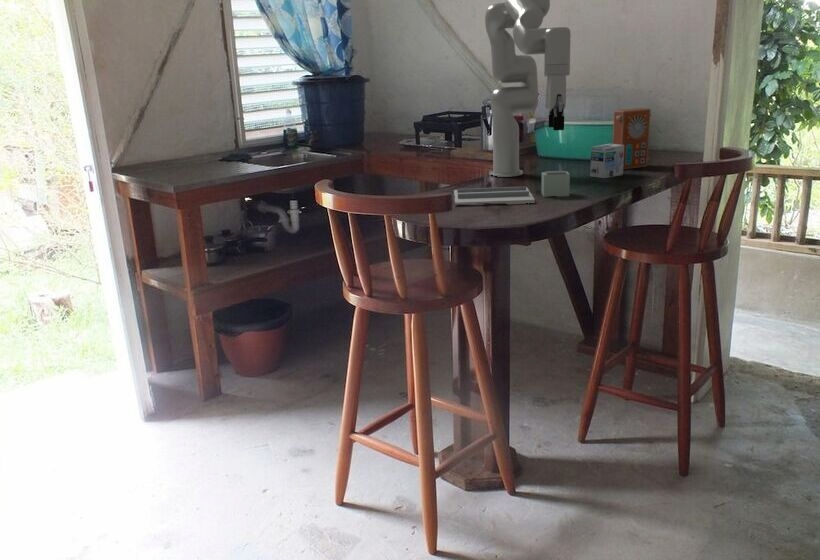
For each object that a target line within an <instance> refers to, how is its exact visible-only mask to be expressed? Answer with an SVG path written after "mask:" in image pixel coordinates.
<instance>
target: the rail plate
mask: <svg viewBox="0 0 820 560" xmlns="http://www.w3.org/2000/svg"><path fill="white" fill-rule="evenodd" d="M453 195H454V196H455V198H454V205H455V204H468V203H469V204H476V203H506V204H508V205H530V204H529V203H536V202H535V201H536V199H535V198H534V196H533V195H532V193H531V192H530V190H529V188H528V187H527V186H524V185H523V186H505V187H503V186H500V187H477V188H476V187H475V188H473V187H472V188H457V189H453ZM526 203H528V204H526Z"/></svg>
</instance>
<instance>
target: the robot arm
mask: <svg viewBox="0 0 820 560" xmlns="http://www.w3.org/2000/svg"><path fill="white" fill-rule="evenodd" d="M550 1H551V0H505V2H497V3H494V4H491V5H489V7H487V9H486V11H485V16H484V23H485V24H484V25H485V26H484V27H485V29H486V30H485V31H486V34H487V37H488V39H489V43H490V50H491V51H490V52H491V53H490V54H491V68H492V79H493V80H494V82H495V83H498V84H517V83H518V84H519V83H520V85H521V86H505V87H498V88H496V89H493V91H492V92H491V94H490V97H489V105H490V109H491V111H490V112H491V117H492V144H493V145H492V153H493V154H492V157H493V158H492V162H493V163H492V165H493V166H492V168H493V170H492V169H491V170H489V173H488V175H489V176H491V175H493V176H492V177H495V176H497V177H498V178H513V177H514V178H515V177H519V176H522V175H524V171H523V170H522V169H520V126H519V123H518V121H517V120H516V119H515V117H514V116H513V115H517V114H528V113H533V112H534V111H536V110H537V108H538V105H539V86H538V83H539V82H538V67H537V62H536V59H534V58H533V56H532V55H544V64H543V65H544V68H543V69H544V71H543V72H544V77H547V78H546V87H545V89H546V90H545V109H547V110H548V127H549V128H552V129H553V131H564V130H565V109H566V106H567V76H570V75H571V73H570V71H571V38H572V37H571V36H572V35H571V29H570V28H569V27H565V26H559V27H558V26H557V27H548V28H547V27H542V28H541V26H542V24H543V21H544V18H545V17H546V16H547V15H548V12H549V10H550V7H551V2H550ZM506 29H512V35H511V34H510V33H509V31H508V30H506ZM512 36H513V37H512ZM516 47H517V48H518V50H519V51H520V52H521V53H523V54H521V55H517V54H516Z"/></svg>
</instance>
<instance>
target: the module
mask: <svg viewBox="0 0 820 560" xmlns="http://www.w3.org/2000/svg"><path fill="white" fill-rule="evenodd" d="M570 175H571V174H570V172H568V170H567V171H565V170H547V171H546V170H545V171H544V172H543V171H542V172H541V190H540V191H541V195H542V197H543V198H547V197H548V198H550V197H551V196H557V197H570V185H571V184H570V181H571V180H570V179H571V176H570ZM549 196H550V197H549ZM551 198H552V197H551Z"/></svg>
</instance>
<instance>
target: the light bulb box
mask: <svg viewBox="0 0 820 560" xmlns="http://www.w3.org/2000/svg"><path fill="white" fill-rule="evenodd" d="M590 147H591V148H590V172H589V173H590V174H589V176H590V177H593V178H600V179H607V178H613V177H619V176H623V174H624V169H623V162H624V145H618V144H613V143H605V144H601V145H595V146H594V145H593V146H590Z"/></svg>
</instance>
